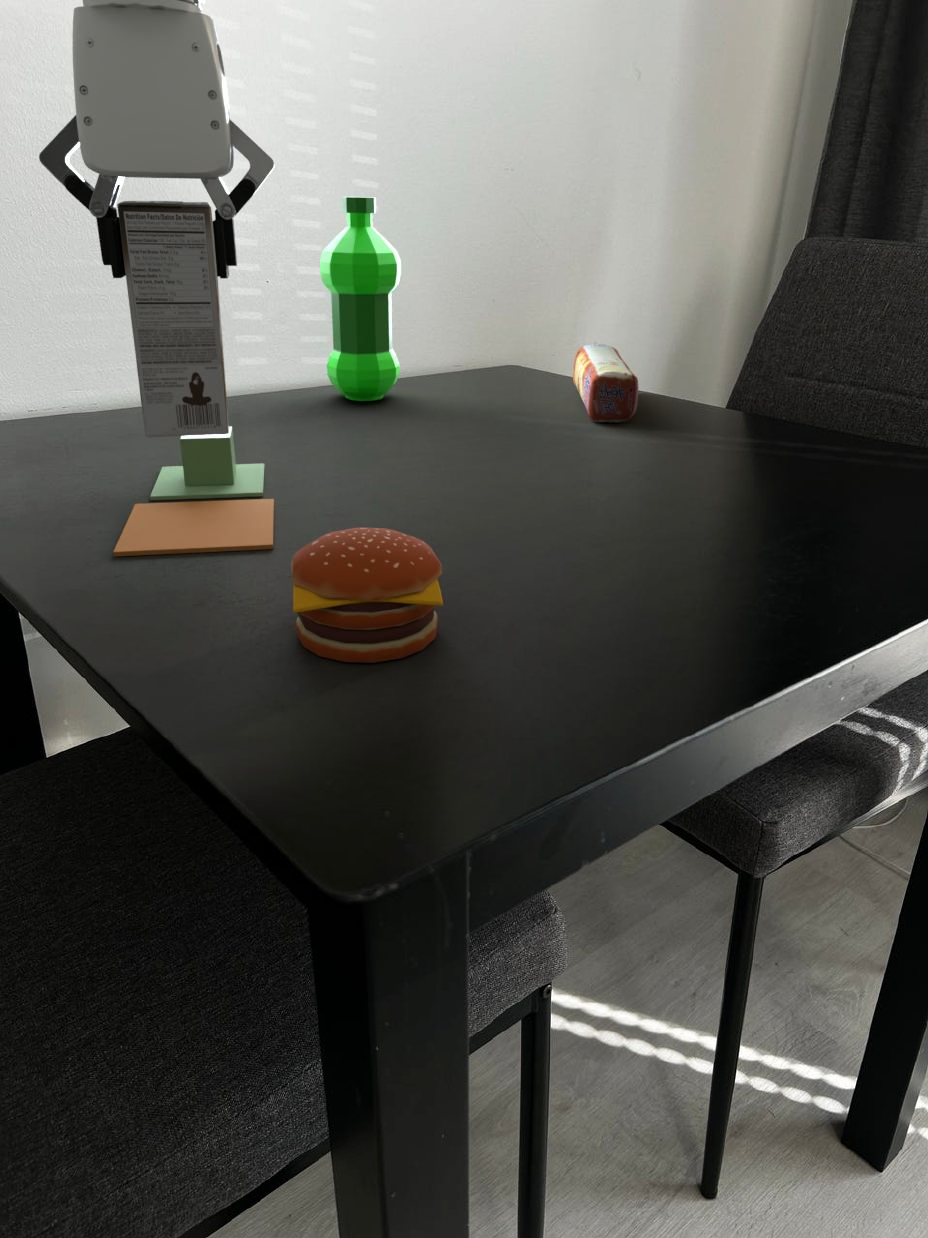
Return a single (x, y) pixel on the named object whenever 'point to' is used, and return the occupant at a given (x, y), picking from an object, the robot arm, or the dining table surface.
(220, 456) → the green block
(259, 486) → the green mat
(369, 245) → the plastic bottle
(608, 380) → the snack package
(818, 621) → the dining table surface
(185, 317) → the coffee box
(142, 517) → the caramel mat
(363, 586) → the hamburger
